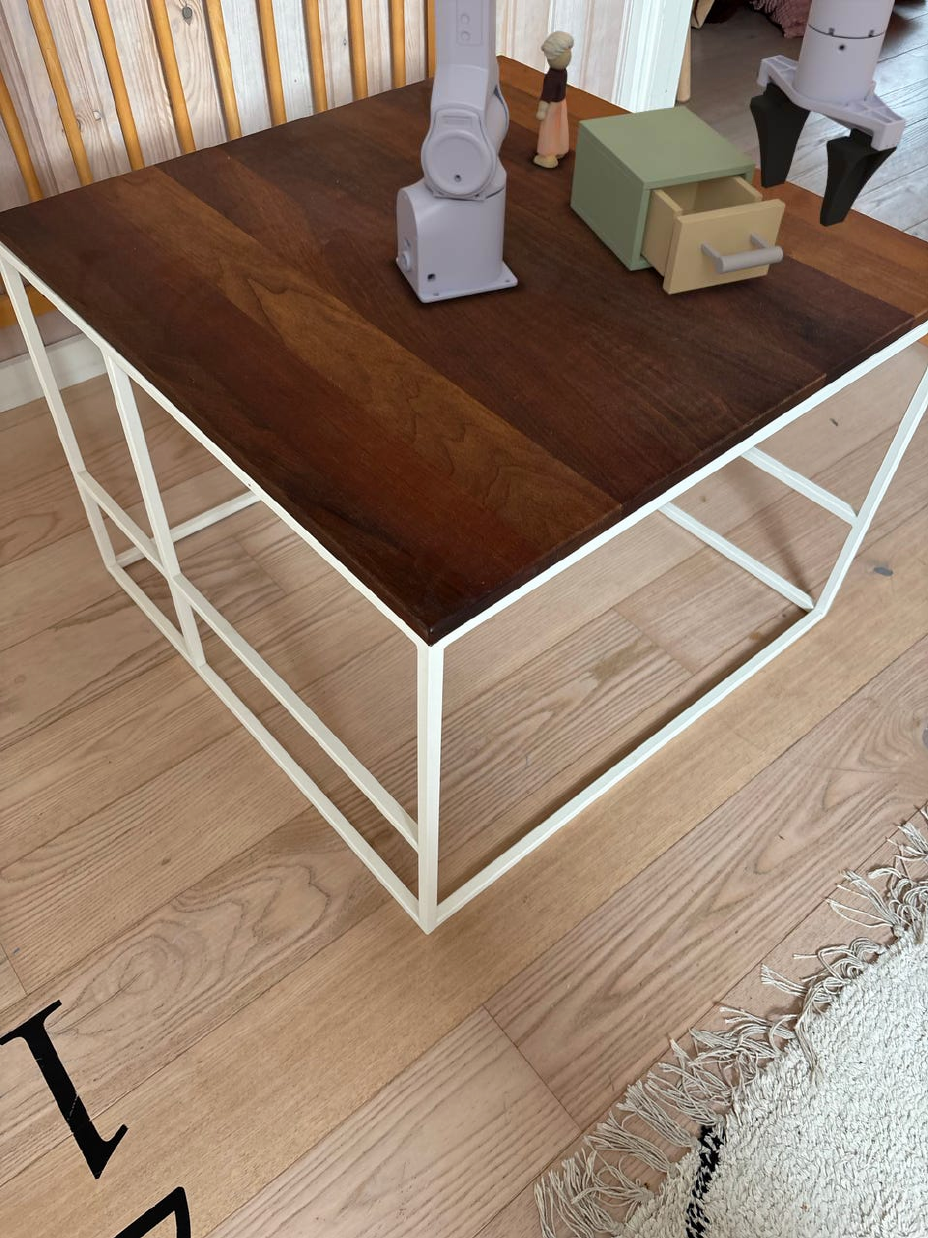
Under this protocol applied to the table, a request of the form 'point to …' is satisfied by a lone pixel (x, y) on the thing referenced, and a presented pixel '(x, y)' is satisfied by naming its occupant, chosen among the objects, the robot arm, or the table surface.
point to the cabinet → (643, 170)
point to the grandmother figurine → (554, 101)
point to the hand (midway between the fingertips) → (801, 202)
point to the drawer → (710, 233)
